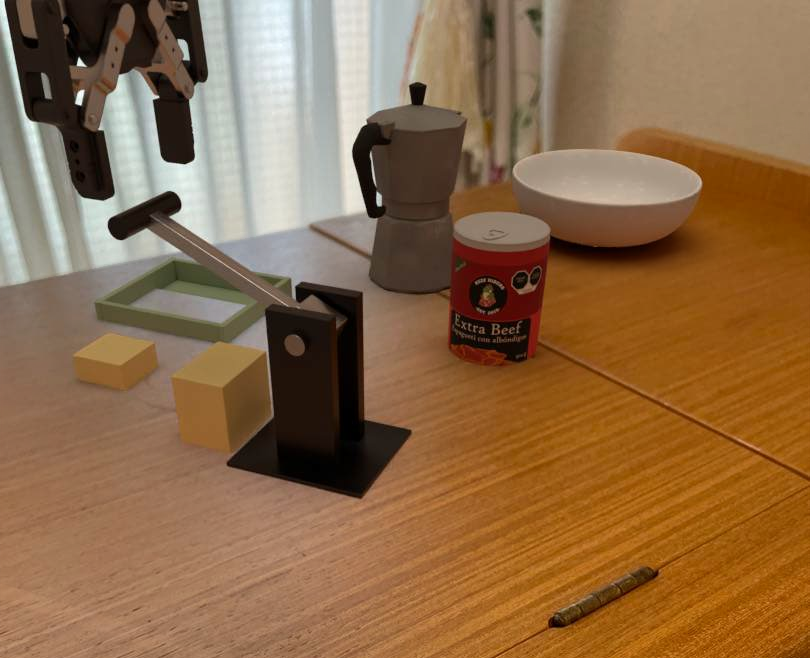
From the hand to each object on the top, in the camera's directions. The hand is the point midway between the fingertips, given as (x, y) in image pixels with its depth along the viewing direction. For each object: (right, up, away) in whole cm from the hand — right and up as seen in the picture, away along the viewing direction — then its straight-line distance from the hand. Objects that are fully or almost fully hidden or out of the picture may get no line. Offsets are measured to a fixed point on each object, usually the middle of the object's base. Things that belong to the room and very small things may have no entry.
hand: (140, 179), depth 54 cm
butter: (+4, -15, +10) cm, 18 cm away
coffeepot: (+17, +4, +35) cm, 39 cm away
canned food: (+24, -6, +21) cm, 33 cm away
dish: (-3, -1, +27) cm, 27 cm away
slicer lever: (+5, -6, +2) cm, 8 cm away
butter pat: (-6, -10, +16) cm, 20 cm away
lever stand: (+11, -17, +7) cm, 21 cm away
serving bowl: (+39, +13, +47) cm, 62 cm away
